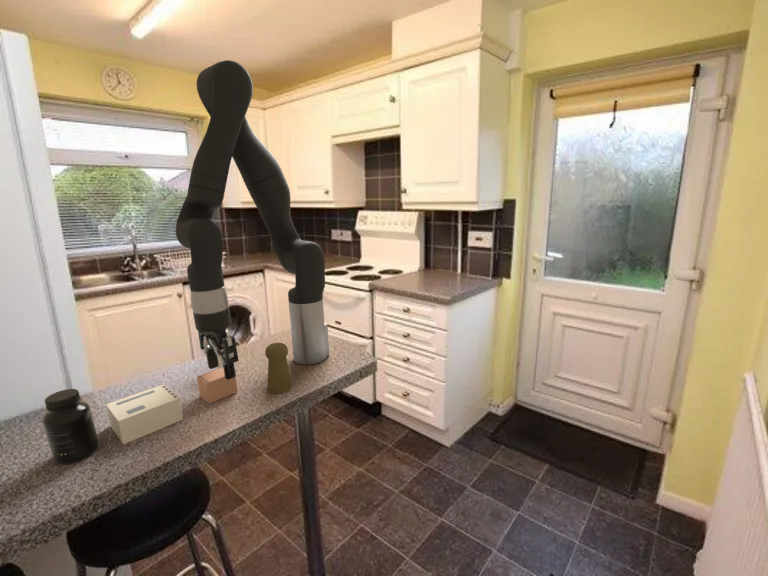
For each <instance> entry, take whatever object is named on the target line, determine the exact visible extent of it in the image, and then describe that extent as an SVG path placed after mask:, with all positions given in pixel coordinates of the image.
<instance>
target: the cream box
mask: <svg viewBox="0 0 768 576" xmlns="http://www.w3.org/2000/svg"><path fill="white" fill-rule="evenodd" d="M105 407H106V408H105V409H106V410H107V411H106V412H107V416H108V421H109V426H110V427H111V429H112V430H113V432H114V433H115V435H116V436H117V437H118V438H119V440H120V441H121V443H122V445H125V444H127V443H130V442H133V441H136V440H138V439H140V438H142V437H144V436H146V435H149V434H151V433H154V432H157V431H159V430H161V429H164V428H167V427H168V426H171V425H174V424H176V423H178V422H180V421H182V420H184V416H183V409H182V403H181V398H180V397H179V396H178V395H177V394H176V393H174V391H172V390H171V389H170V388H169V387H168V386H167V385H165V384H161V385H158V386H155V387H153V388H150V389H146V390H142V391H140V392H138V393H135V394H133V395H130V396H126V397H123V398H121V399H117V400H115V401H112V402H109V403H107V404H106V403H105Z"/></svg>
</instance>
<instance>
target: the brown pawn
mask: <svg viewBox="0 0 768 576" xmlns="http://www.w3.org/2000/svg"><path fill="white" fill-rule="evenodd" d="M264 353H265V354H264V355H265V357H266V358H267V360H268V361H267V362H268V363H267V389H266V390H267V391H268V392H269V393H271V394H282V393H285V392H287V391H289V390H291V389H292V388H293V387H294V385H293V381H292V376H291V372H290V371H291V370H290V368H289V364H288V359H287V356H288V354H289V349H288V346H287V345H286V343H282V342H273V343H271V344H268V345H267V346H266V348H265V352H264Z"/></svg>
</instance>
